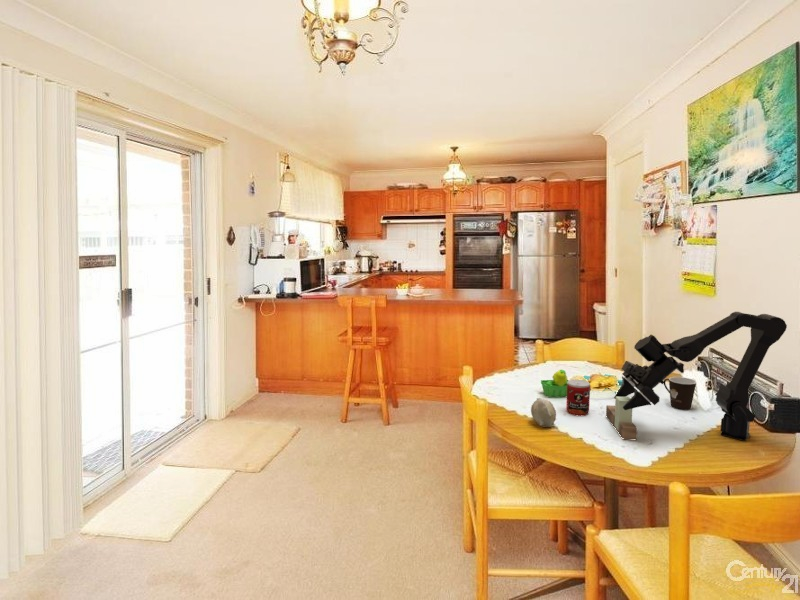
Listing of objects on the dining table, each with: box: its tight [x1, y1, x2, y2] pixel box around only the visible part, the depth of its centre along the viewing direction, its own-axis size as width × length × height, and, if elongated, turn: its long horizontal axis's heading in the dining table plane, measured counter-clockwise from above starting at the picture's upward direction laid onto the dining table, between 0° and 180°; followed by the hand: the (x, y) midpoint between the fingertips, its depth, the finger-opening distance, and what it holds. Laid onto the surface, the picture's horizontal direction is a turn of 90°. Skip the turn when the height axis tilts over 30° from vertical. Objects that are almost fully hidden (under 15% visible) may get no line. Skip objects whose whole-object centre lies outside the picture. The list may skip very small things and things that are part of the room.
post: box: [614, 396, 633, 431], centre depth 153 cm, size 4×4×10 cm
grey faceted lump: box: [530, 397, 557, 428], centre depth 160 cm, size 9×8×10 cm
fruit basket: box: [540, 369, 570, 398], centre depth 188 cm, size 11×9×11 cm
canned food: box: [566, 378, 591, 417], centre depth 170 cm, size 8×8×11 cm
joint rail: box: [605, 405, 638, 440], centre depth 156 cm, size 19×4×4 cm, turn 171°
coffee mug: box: [663, 376, 697, 411], centre depth 174 cm, size 12×9×10 cm
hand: (619, 403), depth 153 cm, fingers open, 9 cm apart
